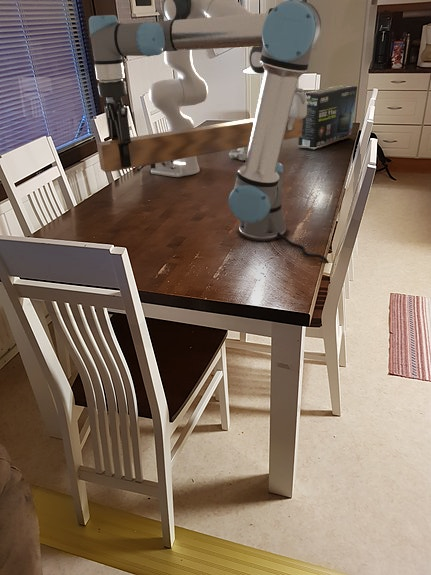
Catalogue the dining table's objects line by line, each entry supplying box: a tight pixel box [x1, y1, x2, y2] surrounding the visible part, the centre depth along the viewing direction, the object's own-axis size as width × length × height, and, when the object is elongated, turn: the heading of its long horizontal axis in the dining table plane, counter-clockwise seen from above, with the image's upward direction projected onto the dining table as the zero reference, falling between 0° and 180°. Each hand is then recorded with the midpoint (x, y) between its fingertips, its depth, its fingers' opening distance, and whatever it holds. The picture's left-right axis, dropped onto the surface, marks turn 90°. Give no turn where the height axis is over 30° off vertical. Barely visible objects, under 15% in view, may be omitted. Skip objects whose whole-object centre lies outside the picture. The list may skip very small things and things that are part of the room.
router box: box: [297, 84, 358, 151], centre depth 238 cm, size 36×11×27 cm, turn 134°
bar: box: [96, 117, 303, 173], centre depth 149 cm, size 73×4×8 cm, turn 120°
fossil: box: [228, 146, 249, 161], centre depth 224 cm, size 18×11×15 cm
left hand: (283, 128), depth 161 cm, fingers closed on bar, 4 cm apart
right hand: (123, 164), depth 138 cm, fingers closed on bar, 5 cm apart
